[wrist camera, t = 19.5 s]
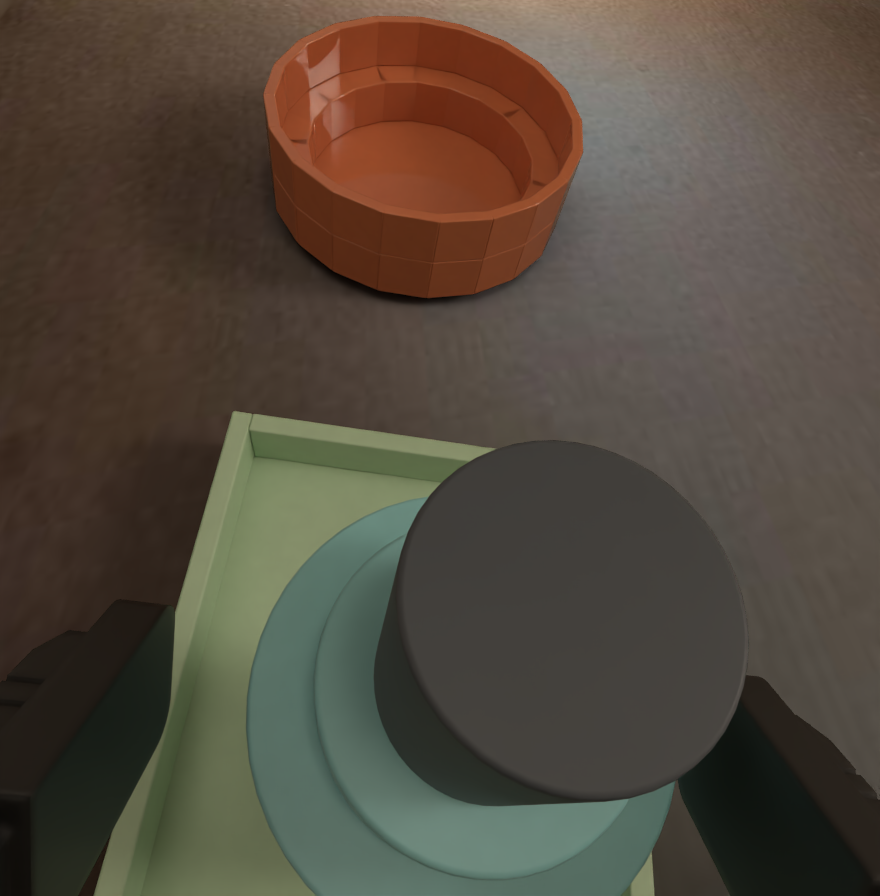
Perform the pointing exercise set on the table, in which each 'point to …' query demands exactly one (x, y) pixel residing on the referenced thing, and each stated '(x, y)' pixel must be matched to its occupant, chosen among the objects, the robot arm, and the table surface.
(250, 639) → the tray
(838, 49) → the table surface
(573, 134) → the bowl
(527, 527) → the bottle
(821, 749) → the robot arm
